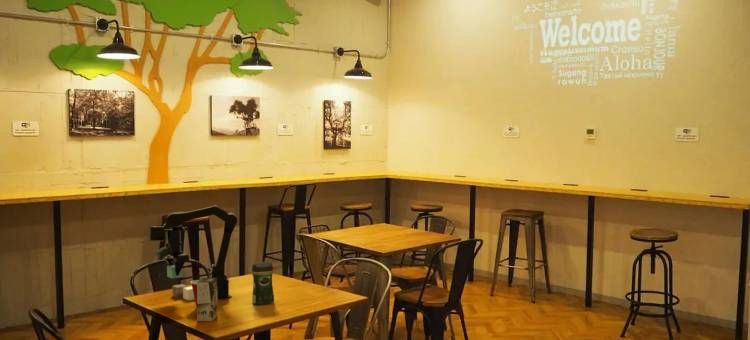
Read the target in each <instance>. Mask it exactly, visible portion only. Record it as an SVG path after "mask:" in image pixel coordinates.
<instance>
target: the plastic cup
mask: <svg viewBox="0 0 750 340" xmlns="http://www.w3.org/2000/svg"><path fill="white" fill-rule="evenodd" d="M199 280H200V279H195V280H191V281H190V284H191V286H192V289H193V293H194V299H193V300H194V302H195V307H196V309H197V282H198V281H199Z"/></svg>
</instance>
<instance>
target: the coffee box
mask: <svg viewBox="0 0 750 340" xmlns="http://www.w3.org/2000/svg"><path fill="white" fill-rule="evenodd" d="M198 280H199V281H198V282H197V308H196V309H197V312H196V313H197V319H196V320H197V322H198V321H199V322H212V321H213V320H215V318H216V317H218V314H219V313H218V311H219V310H218V309H219V308H218V299H217V278H212V277H202V278H201V279H198Z"/></svg>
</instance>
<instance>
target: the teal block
mask: <svg viewBox="0 0 750 340" xmlns="http://www.w3.org/2000/svg"><path fill="white" fill-rule="evenodd" d="M166 274H167V275H166V277H167V278H170V279H177V278H182V277H183V268H182V269H181V271H180V273H179V275H178V276H176V273H175V266H174V265H169V266H168V265H167V266H166Z"/></svg>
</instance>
